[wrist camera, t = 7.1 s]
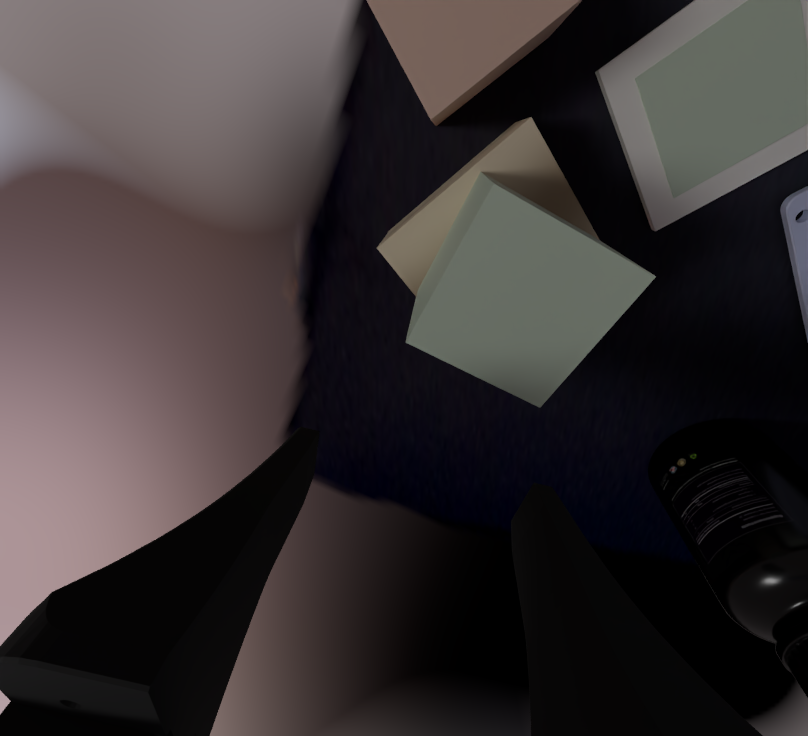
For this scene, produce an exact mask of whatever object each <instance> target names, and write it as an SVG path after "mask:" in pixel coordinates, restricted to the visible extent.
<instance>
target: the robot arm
mask: <svg viewBox="0 0 808 736" xmlns="http://www.w3.org/2000/svg"><path fill="white" fill-rule="evenodd" d="M802 210H803V215H802V216H801V218H799V219H798V220H795V219H796V216H797V214H798V213H799V212H801V211H802ZM781 216H782V221H783V226H784V230H785V235H786V240H787V245H788V250H789V255H790V259H791V264H792V269H793V274H794V279H795V283H796V288H797V293H798V298H799V303H800V308H801V312H802V317H803V322H804V327H805V332H806V337H807V341H808V186H807V187H805V188H803V189H801V190H799V191H797V192H795V193H793V194H791V195H790V196H788V197H787V198H786V199H785V200H784V201H783V203H782V205H781ZM318 439H319V431H316V430H312V429H308V428H303V427H300V428H298V429H297V430H296V431H295V432H294V433H293V434H292V435H291V436H290V437H289V438H288V439H287V441H286V442H285V443H284V444H283V445H282V446H280V447H279V448H278V449H277V450H276V451H275V452H274V453H273V454H272V455H271V456H270V457H269V458H268V459H267V460H265V461H264V462H263V463H262V464H261V465H260V466H259V467H258V468H257V469H255V470H254V471H253V472H252V473H251V474H250V475H248V476H247V477H246V478H245V479H243V480H242V481H241V482H240V483H238V484H237V485H236V486H235V487H233V488H232V489H231V490H230V491H228V492H227V493H226V494H225V495H223V496H222V497H220V498H219V499H218V500H216V501H215V502H213V503H212V504H211V505H209V506H208V507H206V508H205V509H204V510H202V511H201V512H199V513H198V514H196V515H195V516H193V517H192V518H190V519H189V520H187V521H185V522H184V523H182V524H180V525H179V526H177V527H176V528H174V529H173V530H171V531H169V532H168V533H166V534H164V535H163V536H161V537H159V538H158V539H156V540H154V541H152V542H150V543H149V544H147V545H145V546H143V547H141V548H140V549H138V550H136V551H134V552H133V553H131V554H129V555H127V556H125V557H123V558H121V559H119V560H118V561H116V562H114V563H112V564H110V565H108V566H106V567H104V568H102V569H100V570H97V571H95V572H93V573H91V574H89V575H87V576H85V577H83V578H81V579H79V580H77V581H75V582H72V583H70V584H68V585H67V586H64V587H62V588H60V589H58V590H55V591H54V592H52V593H51V594H50V595H49V596H48V597H47V598H46V599H45V600H44V601H43V602H42V603H41V604H39V605H38V606H37V607H36V608H35V609H34V610H33V611H32V612H31V613H30V614H29V615H28V616H27V617H26V618H25V620H23V621H22V623H21V624H20V625H19V626H18V627H17V628H16V629H15V630H14V632H13V633H12V634H11V635H10V636H9V637H8V638H7V639H6V640H5V642H4V643H3V644H2V645H1V646H0V690H1V691H2V692H3V693H4V694H5V695H6V696H7V697H8V698H9V700H10V701H11V702H10V703H9V704H8V706H7V707H6V708H5V709H4V711H3V712H2V713H1V715H0V736H209V735H210V732H211V730H212V727H213V724H214V721H215V718H216V715H217V712H218V710H219V707H220V704H221V701H222V698H223V695H224V693H225V690H226V687H227V684H228V682H229V679H230V676H231V673H232V671H233V668H234V665H235V662H236V660H237V657H238V654H239V651H240V649H241V646H242V643H243V641H244V638H245V635H246V633H247V630H248V627H249V625H250V622H251V619H252V617H253V614H254V611H255V609H256V606H257V604H258V601H259V599H260V596H261V593H262V591H263V588H264V586H265V583H266V581H267V579H268V576H269V574H270V572H271V569H272V567H273V565H274V563H275V561H276V559H277V557H278V555H279V553H280V551H281V549H282V547H283V545H284V543H285V541H286V539H287V536H288V535H289V533H290V530H291V528H292V526H293V524H294V522H295V520H296V518H297V516H298V514H299V511H300V510H301V508H302V505H303V503H304V501H305V498H306V495H307V493H308V490H309V487H310V484H311V482H312V479H313V476H314V471H315V463H316V455H317V447H318ZM511 535H512V554H513V560H514V567H515V573H516V580H517V586H518V592H519V598H520V604H521V610H522V616H523V622H524V629H525V636H526V645H527V659H528V672H529V690H530V710H531V736H762V735H761V734H760V733H759V732H758V731H757V730H755V728H754V727H752V726H751V725H750V724H749V723H748V722H747V721H746V720H744V718H742V717H741V716H740V715H739V714H738V713H737V712H736V711H735V710H734V709H733V708H732V707H731V706H730V705H729V704H728V703H726V702H725V700H723V699H722V698H721V697H720V696H719V695H718V694H717V693H716V692H715V691H714V690H713V689H712V688H711V687H710V686H709V685H708V684H707V683H706V682H705V681H704V680H703V679H702V678H701V677H700V676H699V675H698V674H697V673H696V672H695V671H694V670H693V669H692V668H691V667H690V666H689V665H688V664H687V663H686V662H685V661H684V660H683V658H682V657H681V656H680V655H679V654H678V653H677V652H676V651H675V650H674V649H673V648H672V647H671V645H669V643H668V642H667V641H666V640H665V639H664V638H663V637H662V636H661V635H660V634H659V632H657V630H656V629H655V628H654V627H653V626H652V624H651V623H650V622H649V621H648V620H647V619H646V617H645V616H644V615H643V614H642V613H641V611H640V610H639V609H638V608H637V607H636V605H635V604H634V603H633V602H632V601H631V600H630V598H629V597H628V596H627V594H626V593H625V592H624V591H623V589H622V588H621V587H620V585H619V584H618V583H617V582H616V580H615V579H614V577H613V576H612V575H611V573H610V572H609V571H608V569H607V568H606V567H605V565H604V564H603V563H602V561H601V560H600V558H599V557H598V556H597V554H596V553H595V551H594V550H593V548H592V547H591V545H590V544H589V542H588V541H587V540H586V538H585V537H584V535H583V534H582V532H581V531H580V529H579V528H578V526H577V525H576V523H575V521H574V520H573V518H572V517H571V515H570V514H569V512H568V511H567V509H566V508H565V506H564V505H563V503H562V501H561V500H560V498H559V497H558V495H557V494H556V492H555V491H554V489H553V488H552V487H549V486H545V485H541V484H536V483H534V484H533V485H532V487H531V489H530V490H529V492H528V494H527V495H526V497H525V499H524V500H523V502H522V504H521V505H520V507H519V509H518V511H517V512H516V514H515V516H514V517H513V519H512V521H511Z"/></svg>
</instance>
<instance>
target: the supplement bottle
mask: <svg viewBox="0 0 808 736" xmlns="http://www.w3.org/2000/svg"><path fill="white" fill-rule="evenodd" d="M648 476H649V480H650V483H651V485H652V487H653V489H654V491H655V492H656V494H657V496H658V497H659V499H660V501H661V503H662V505H663V506H664V508H665V510H666V511H667V513H668V515H669V517H670V518H671V520H672V522H673V523H674V525H675V527H676V529H677V530H678V532H679V534H680V535H681V537H682V539H683V541H684V542H685V544H686V546H687V547H688V549H689V551H690V552H691V554H692V556H693V558H694V559H695V561H696V563H697V564H698V566H699V568H700V570H701V571H702V573H703V575H704V576H705V578H706V580H707V582H708V583H709V585H710V587H711V588H712V590H713V592H714V593H715V595H716V597H717V599H718V600H719V602H720V603H721V605H722V606H723V608H724V609H725V611H726V612H727V614H728V615H729V616H730V617H731V618H732V619H733V620H734V621H735V622H737V623H738V624H739V625H740V626H742V627H743V628H744V629H746V630H747V631H749V632H751V633H752V634H754V635H756V636H758V637H760V638H762V639H765V640H767V641H770V642H773V643H776V653H777V654H778V656H779V658H780V660H781V661H782V663H783V665H784V666H785V667H786V669H787V670H789V671H790V672H791V673H792V674H793V676H794V677H795V679H796V680H797V682H798V684H799V685H800V687H801V688H802V690H803V691H804V693H805V694H806V696H807V697H808V472H807V471H805V470H804V469H803V468H802V467H801V466H800V465H799V464H798V463H797V462H796V461H795V460H793V459H792V458H791V457H790V456H789V455H788V454H787V453H786V452H785V451H784V450H782V449H781V448H780V447H779V446H778V445H777V444H776V443H775V442H773V441H772V440H771V439H770V438H769V437H768V436H766V435H765V434H764V433H762V432H761V431H759V430H758V429H756V428H753V427H751V426H748V425H745V424H741V423H736V422H727V421H716V422H707V423H702V424H698V425H694V426H691V427H688V428H686V429H683V430H681V431H679V432H677V433H675V434H673V435H672V436H670V437H669V438H668V439H666V440H665V441H664V442H663V443H662V444H661V445H660V446H659V447H658V448H657V449H656V450H655V452H654V453H653V455H652V457H651V459H650V462H649V467H648Z"/></svg>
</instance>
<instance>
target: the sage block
mask: <svg viewBox="0 0 808 736" xmlns="http://www.w3.org/2000/svg"><path fill="white" fill-rule="evenodd" d="M655 277H656V276H655V275H653V274H651V273H650V272H648V271H647V270H645V269H644V268H642V267H641V266H639V265H637V264H636V263H634V262H633V261H631V260H630V259H628V258H626V257H625V256H623V255H622V254H620V253H619V252H617V251H615V250H614V249H612V248H611V247H609V246H608V245H606V244H605V243H603V242H601V241H600V240H598V239H597V238H595V237H593V236H592V235H590V234H588V233H587V232H585V231H583V230H581V229H580V228H578V227H576V226H574V225H573V224H571V223H569V222H567V221H566V220H564V219H562V218H560V217H559V216H557V215H555V214H553V213H552V212H550V211H548V210H547V209H545V208H543V207H541V206H540V205H538V204H536V203H534V202H533V201H531V200H529V199H527V198H526V197H524V196H522V195H520V194H519V193H517V192H515V191H513V190H512V189H510V188H508V187H506V186H505V185H503V184H501V183H500V182H498V181H496V180H494V179H493V178H491V177H489V176H487V175H486V174H484V173H482V172H480V174H479V175H478V177H477V179H476V181H475V183H474V185H473V187H472V189H471V191H470V192H469V194H468V196H467V198H466V200H465V202H464V204H463V206H462V208H461V209H460V211H459V213H458V215H457V217H456V219H455V221H454V223H453V225H452V226H451V228H450V230H449V232H448V234H447V236H446V238H445V240H444V242H443V243H442V245H441V247H440V249H439V251H438V253H437V255H436V257H435V259H434V260H433V262H432V264H431V266H430V268H429V270H428V272H427V274H426V276H425V277H424V279H423V281H422V283H421V285H420V287H419V289H418V292H417V296H416V300H415V305H414V309H413V313H412V317H411V322H410V326H409V330H408V334H407V338H406V343H408V344H410V345H412V346H414V347H416V348H418V349H420V350H422V351H424V352H427V353H429V354H431V355H433V356H435V357H437V358H439V359H441V360H443V361H445V362H447V363H449V364H451V365H453V366H455V367H457V368H459V369H462V370H464V371H466V372H468V373H470V374H472V375H474V376H476V377H478V378H480V379H482V380H484V381H486V382H488V383H490V384H492V385H494V386H497V387H499V388H501V389H503V390H505V391H507V392H509V393H511V394H513V395H515V396H517V397H519V398H521V399H523V400H525V401H527V402H529V403H531V404H534V405H536V406H538V407H541V406H542V405H543V404H544V403H545V401H546V400H547V399H548V398H549V397H550V396H551V395H552V394H553V392H554V391H555V390H556V389H557V388H558V387H559V386H560V385H561V383H562V382H563V381H564V380H565V379H566V378H567V377H568V376H569V374H570V373H571V372H572V371H573V370H574V369H575V368H576V366H577V365H578V364H579V363H580V362H581V361H582V360H583V359H584V357H585V356H586V355H587V354H588V353H589V352H590V351H591V350H592V348H593V347H594V346H595V345H596V344H597V343H598V342H599V341H600V339H601V338H602V337H603V336H604V335H605V334H606V333H607V332H608V330H609V329H610V328H611V327H612V326H613V325H614V324H615V323H616V321H617V320H618V319H619V318H620V317H621V316H622V315H623V314H624V312H625V311H626V310H627V309H628V308H629V307H630V306H631V304H632V303H633V302H634V301H635V300H636V299H637V298H638V297H639V295H640V294H641V293H642V292H643V291H644V290H645V289H646V288H647V286H648V285H649V284H650V283H651V282H652V281H653V280H654V279H655Z"/></svg>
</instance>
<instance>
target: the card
mask: <svg viewBox="0 0 808 736" xmlns="http://www.w3.org/2000/svg"><path fill="white" fill-rule="evenodd" d="M595 74H596V76H597V79H598V82H599V85H600V88H601V90H602V93H603V96H604V99H605V102H606V104H607V107H608V110H609V113H610V115H611V118H612V121H613V124H614V127H615V129H616V132H617V135H618V138H619V141H620V143H621V146H622V149H623V152H624V154H625V157H626V160H627V163H628V166H629V168H630V171H631V174H632V177H633V180H634V182H635V185H636V188H637V191H638V193H639V196H640V199H641V202H642V205H643V207H644V210H645V213H646V216H647V219H648V221H649V224H650V227H651V230H653V231H657V230H659V229H661V228H663V227H665V226H667V225H668V224H670V223H672V222H674V221H676V220H678V219H680V218H681V217H683V216H685V215H687V214H689V213H691V212H693V211H695V210H696V209H698V208H700V207H702V206H704V205H706V204H708V203H709V202H711V201H713V200H715V199H717V198H719V197H721V196H723V195H724V194H726V193H728V192H730V191H732V190H734V189H736V188H737V187H739V186H741V185H743V184H745V183H747V182H749V181H750V180H752V179H754V178H756V177H758V176H760V175H762V174H764V173H765V172H767V171H769V170H771V169H773V168H775V167H777V166H778V165H780V164H782V163H784V162H786V161H788V160H790V159H792V158H793V157H795V156H797V155H799V154H801V153H803V152H805V151H806V150H808V0H694V1H692V2H691V3H690V4H688V5H687V6H686V7H684V8H683V9H681V10H680V11H679V12H677V13H676V14H674V15H673V16H672V17H670V18H669V19H668V20H666V21H665V22H663V23H662V24H661V25H659V26H658V27H657V28H655V29H654V30H652V31H651V32H650V33H648V34H647V35H646V36H644V37H643V38H641V39H640V40H639V41H637V42H636V43H634V44H633V45H632V46H630V47H629V48H628V49H626V50H625V51H623V52H622V53H621V54H619V55H618V56H617V57H615V58H614V59H612V60H611V61H610V62H608V63H607V64H606V65H604V66H603V67H601V68H600V69H599V70H597V71H596V72H595Z"/></svg>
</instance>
